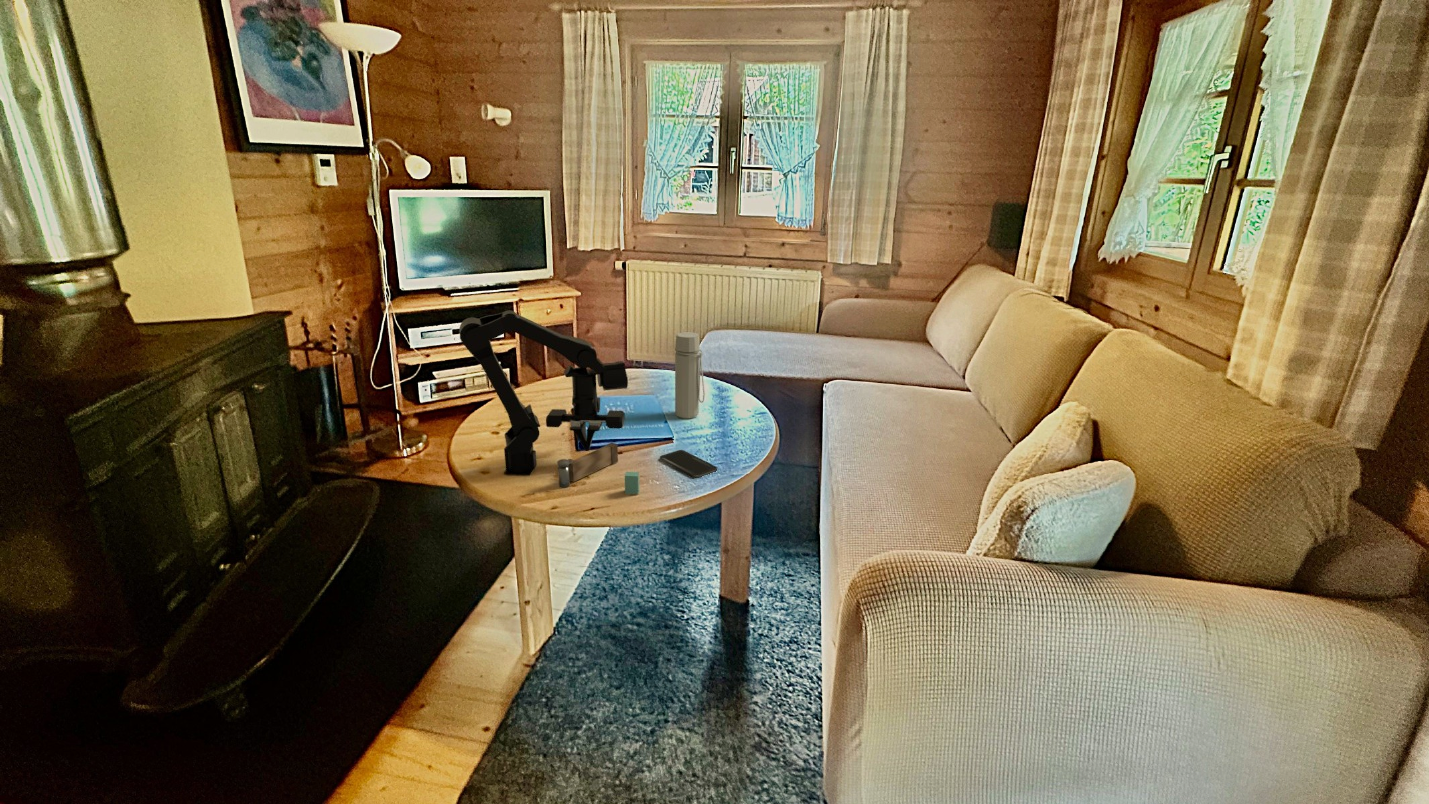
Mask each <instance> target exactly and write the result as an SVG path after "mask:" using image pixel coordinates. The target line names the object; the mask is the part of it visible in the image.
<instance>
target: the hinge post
mask: <svg viewBox="0 0 1429 804" xmlns="http://www.w3.org/2000/svg"><path fill="white" fill-rule="evenodd" d="M557 470H558V471H557V473H558V485H559V488H562V489H566V488H569V487H570V485H571V484H570V483H571V482H570V480H569V466H566V467H559V466H557Z"/></svg>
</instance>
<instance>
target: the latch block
mask: <svg viewBox="0 0 1429 804" xmlns="http://www.w3.org/2000/svg"><path fill="white" fill-rule="evenodd" d="M639 493H640V472H639V471H626V472H625V474H624V494H625V495H639Z"/></svg>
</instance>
